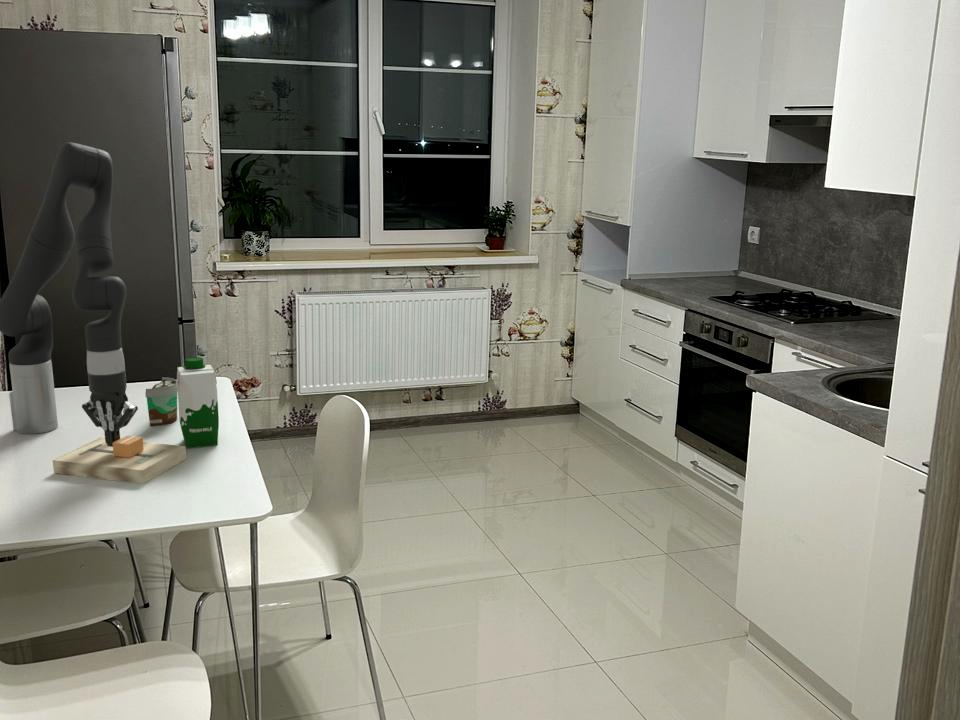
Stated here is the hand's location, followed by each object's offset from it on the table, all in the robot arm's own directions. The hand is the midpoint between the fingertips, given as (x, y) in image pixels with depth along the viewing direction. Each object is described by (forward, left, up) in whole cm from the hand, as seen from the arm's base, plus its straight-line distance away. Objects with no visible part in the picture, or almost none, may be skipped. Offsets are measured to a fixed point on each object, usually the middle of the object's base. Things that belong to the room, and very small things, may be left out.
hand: (113, 445), depth 200 cm
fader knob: (+4, 0, -1) cm, 4 cm away
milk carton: (+10, +19, -5) cm, 22 cm away
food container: (-7, +32, -5) cm, 33 cm away
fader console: (+2, 0, -5) cm, 5 cm away
